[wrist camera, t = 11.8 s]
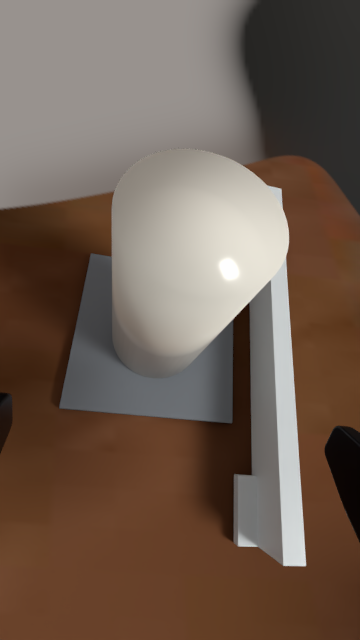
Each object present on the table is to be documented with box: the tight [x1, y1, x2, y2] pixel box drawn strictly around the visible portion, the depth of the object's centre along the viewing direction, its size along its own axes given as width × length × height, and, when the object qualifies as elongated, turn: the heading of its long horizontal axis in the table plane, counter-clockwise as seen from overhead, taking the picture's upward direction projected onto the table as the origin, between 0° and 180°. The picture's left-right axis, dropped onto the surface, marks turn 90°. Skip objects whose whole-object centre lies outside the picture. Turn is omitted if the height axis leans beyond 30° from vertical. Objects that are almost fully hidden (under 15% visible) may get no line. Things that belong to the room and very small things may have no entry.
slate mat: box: [59, 254, 233, 423], centre depth 18 cm, size 9×9×1 cm
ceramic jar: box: [112, 149, 289, 378], centre depth 13 cm, size 5×5×10 cm
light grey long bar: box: [234, 186, 306, 566], centre depth 18 cm, size 20×3×3 cm, turn 176°
